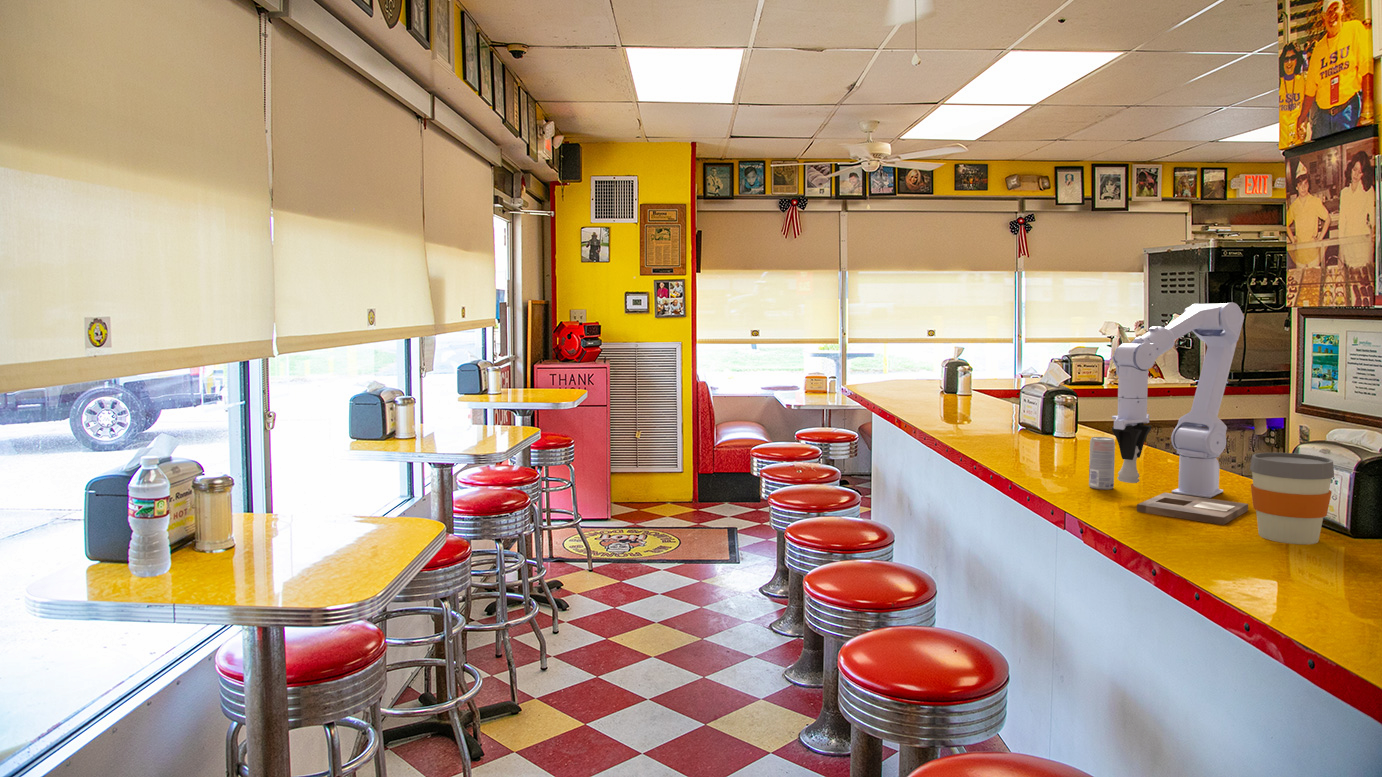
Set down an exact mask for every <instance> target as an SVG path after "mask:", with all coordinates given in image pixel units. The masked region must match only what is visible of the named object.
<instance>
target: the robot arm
mask: <svg viewBox="0 0 1382 777" xmlns="http://www.w3.org/2000/svg"><path fill="white" fill-rule="evenodd" d="M1244 319H1245V315H1244V313H1243V311H1242V310H1241V308H1240V306H1239V305H1238V304H1237V303H1236V302H1232V301H1231V302H1227V303H1226V302H1225V303H1224V302H1223V303H1221V302H1220V303H1200V302H1199V303H1193V304H1191V305H1190V306H1187V307H1186V308H1184V310H1183V313H1182V314H1181V315H1179V316H1178V317H1177V318H1175V319H1174V320H1173V321H1171V322H1170V323H1168V324H1167V325H1166V326H1151V327H1149V328H1148V331H1146V332H1145V333H1144V334H1143V335H1141V336H1137V337H1135V338H1134V339H1133V341H1131V342H1130V343H1129V342H1126V343H1125V342H1123V343H1121V344H1120V345H1119V346H1117V348H1116V349H1115V351H1114V353H1113V355H1112V356H1111V359H1112V363H1113V365H1114V366H1115V374H1116V375H1117V378H1118V380H1117V381H1118V382H1117V383H1118V384H1117V415H1111V419H1112V420H1113V426H1112V427H1111V431H1112V433H1113V436H1115V439H1116V441H1117V444H1118V447H1119V448H1118V449H1119V452H1120V456H1121V459H1122V460H1124V459H1126V460H1133V458H1134V455H1135V448H1136V446H1138V449H1139V452H1138V453H1137V457H1138V458H1140V457H1141V456H1142V453H1143V452H1142V451H1143V448H1144V444H1145V441H1146V439H1147V437H1148V434H1150V432H1151V431H1152V425H1147V424H1148V423H1150V414H1148V389H1149V388H1148V386H1149V385H1148V383H1149V382H1148V380H1149V370H1150V369H1152V367H1153V366H1154V365H1155V362H1156V360H1157V359H1158V358H1159V357H1160V356H1161V355H1163V354H1165V353H1166V352H1168V351H1169V350H1171V349H1173V347H1174V346H1175V344H1176V340H1177V339H1179V338H1182V337H1183V336H1186V335H1188V334H1189V333H1191V332H1193V334H1194V335H1195V336H1196V337H1197V338H1198V339H1199V340H1200V341H1201V342H1203V343H1205V345H1206V347H1207V349H1206V351H1205V355H1204V359H1203V363H1202V366H1201V371H1200V375H1199V379H1198V382H1197V385H1196V390H1195V393H1194V398H1193V401H1192V405H1191V409H1190V411H1189V412H1188V413H1185V414H1183V415H1182V416H1180V417H1179V418H1178V421H1177V425H1176V426H1175V428H1173V431H1172V432H1171V436H1170V440H1171V446H1172V447H1173V449H1174V450H1176V454H1177V455H1178V454H1179V460H1178V461H1179V463H1178V464H1179V465H1178V488H1175V489H1172V490H1171V493H1172V494H1179V495H1186V496H1194V497H1201V498H1208V499H1212V498H1213V497H1215V496H1217V495H1220V494H1221V493H1223V492H1224V489H1221V488H1220V463H1219V461H1218V459H1217V458H1219V457H1220V456H1221V455H1222V453H1223V452H1224V451H1225V449H1226V446H1227V434H1226V433H1227V430H1228V427H1227V425H1226V424H1225V422H1223V421H1222V419H1221V418H1220V417H1218V416H1219V412H1220V409H1221V405H1222V402H1223V401H1222V400H1223V397H1224V394H1225V390H1226V387H1227V382H1228V379H1229V374H1230V371H1231V366H1232V362H1233V359H1234V355H1235V351H1236V348H1237V342H1238V341H1239V339H1240V334H1241V332H1242V326H1243V323H1244ZM1138 458H1137V459H1138Z"/></svg>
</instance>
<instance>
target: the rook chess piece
mask: <svg viewBox="0 0 1382 777" xmlns="http://www.w3.org/2000/svg"><path fill="white" fill-rule="evenodd" d="M1138 452H1139V449H1138V446H1136V448H1135V455H1134V458H1133V460H1126V459H1123V463H1122V466H1121V468H1120V470H1119V471H1118V472H1117V475H1118V476H1117V477H1116V478H1117V480H1118V481H1120V482H1123V483H1127V484H1136V483H1139V482H1140V473H1139V471H1138V469H1137V460H1138V457H1137V453H1138Z"/></svg>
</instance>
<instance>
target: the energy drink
mask: <svg viewBox="0 0 1382 777" xmlns="http://www.w3.org/2000/svg"><path fill="white" fill-rule="evenodd" d="M1115 442H1116V441H1115V438H1114V437H1113V438H1112V437H1109V436H1108V437H1106V436H1094V437H1091V438H1090V440H1089V464H1088V465H1089V466H1088V467H1089V469H1088V470H1089V471H1088V472H1089V474H1088V476H1089V477H1088V486H1089V487H1090V488H1091V489H1095V490H1104V491H1105V490H1107V491H1108V490H1113V489H1114V486H1115V485H1114V484H1115V457H1116V456H1115V455H1116V454H1115V450H1116V443H1115Z"/></svg>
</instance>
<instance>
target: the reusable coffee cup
mask: <svg viewBox="0 0 1382 777" xmlns="http://www.w3.org/2000/svg"><path fill="white" fill-rule="evenodd" d="M1249 465H1250V466H1249V471H1250V472H1251V475H1252V483H1251V484H1250V491H1251V498H1252V499H1251V500H1252V508H1253V509H1254V510H1255V512H1256V521H1257V530H1258V536H1260V537H1261V538H1263V539H1266V540H1270V541H1273V542H1277V543H1283V544H1292V545H1314V544H1317V543H1319V540H1320V536H1321V530H1322V527H1323V526H1322V525H1323V521H1324V518H1325V517H1326V516H1327V515H1328V511H1329V506H1330V501H1331V496H1332V492H1333V491H1332V490H1330V487H1331V484H1332V479H1333V478H1335V469H1334V460H1333V459H1331V458H1327V457H1324V456H1319V455H1310V454H1305V453H1293V452H1258V453H1253V454H1252V455H1251V461H1250V464H1249Z"/></svg>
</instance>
